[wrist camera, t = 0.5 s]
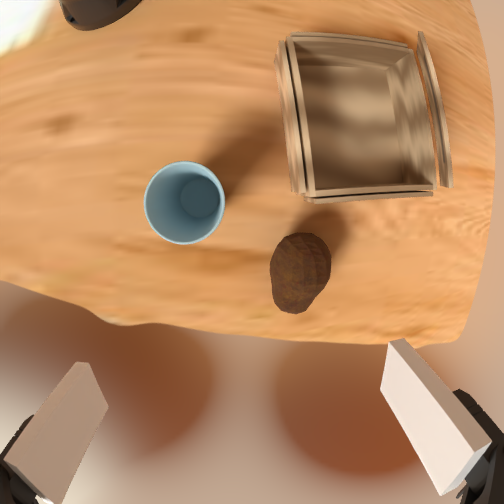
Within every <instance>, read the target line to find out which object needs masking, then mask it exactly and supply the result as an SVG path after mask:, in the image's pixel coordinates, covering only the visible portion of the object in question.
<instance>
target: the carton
mask: <svg viewBox="0 0 504 504" xmlns="http://www.w3.org/2000/svg"><path fill="white" fill-rule="evenodd" d="M407 47H408V46H407V44H405V43H400V42H395V41H390V40H384V39H378V38H371V37H364V36H356V35H347V34H335V33H319V32H291V33H290V36H289V37H286V41H285V43H284V41H279V44H278V48H277V52H276V56H275V60H274V64H275V71H276V77H277V83H278V90H279V96H280V103H281V110H282V117H283V125H284V132H285V140H286V148H287V156H288V165H289V173H290V182H291V192H296V195H301V196H306V197H304V201H307V202H310V203H314V204H324V203H335V202H347V201H360V200H374V199H389V198H406V197H425V196H433V192H429V191H417V190H437V181H436V168H435V158H434V149H433V141H432V134H431V127H430V121H429V116H428V110H427V105H426V100H425V95H424V91H423V86H422V82H421V78H420V74H419V70H418V66H417V63H416V59H415V56H414V53H413V49H408V48H407Z"/></svg>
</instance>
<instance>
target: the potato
mask: <svg viewBox="0 0 504 504" xmlns="http://www.w3.org/2000/svg"><path fill="white" fill-rule="evenodd" d="M330 272H331V254H330V252H329V249H328V247H327V246H326V244H325V243H324V242H323V240H321V239H320V238H318V237H317V236H315V235H314V234H312V233H295V234H292V235H289V236H286V237H284V238H283V239H282V241H281V242H280V243H279V244H278V245H277V247H276V249H275V252H274V254H273V256H272V259H271V262H270V275H271V282H272V294H273V299H274V302H275V304H276V305H277V306H278V308H279V309H280V310H281V311H284V312H287V313H292V314H298V313H301V312H304V311H306V310H307V308H308V307H309V306H310V305H311V303H312V302H313V300H314V299H315V297H316V296H317V295H318V294H319V293H320V292H321V291H322V290H323V289H324V287H325V286H326V284H327V282H328V280H329V278H330Z"/></svg>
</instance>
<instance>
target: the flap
mask: <svg viewBox="0 0 504 504" xmlns="http://www.w3.org/2000/svg"><path fill="white" fill-rule="evenodd" d="M417 55H418V58H419V62H420V65H421V69H422V73H423V77H424V81H425V85H426V89H427V94H428V98H429V103H430V108H431V113H432V119H433V125H434V131H435V138H436V146H437V154H438V164H439V176H440V186H444V187H448V188H453V173H452V161H451V152H450V144H449V136H448V130H447V123H446V118H445V112H444V107H443V102H442V97H441V93H440V88H439V84H438V80H437V76H436V73H435V69H434V65H433V62H432V59H431V55H430V52H429V49H428V46H427V43H426V40H425V37H424V34H423V31H418V42H417Z"/></svg>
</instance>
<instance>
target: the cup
mask: <svg viewBox="0 0 504 504" xmlns="http://www.w3.org/2000/svg"><path fill="white" fill-rule="evenodd" d="M144 210H145V214H146V217H147V220H148V222H149V224H150V226H151V227H152V228H153V230H154V231H155V232H156V233H157V234H158V235H159V236H161V237H162V238H164V239H165V240H167V241H170V242H172V243H176V244H192V243H196V242H199V241H201V240H203V239H205V238H206V237H208V236H209V235H210V234H212V233H213V232H214V231H215V229H216V228H217V227H218V225H219V224H220V222H221V220H222V217H223V214H224V210H225V195H224V190H223V187H222V185H221V183H220V181H219V179H218V178H217V177H216V175H215V174H214V173H213V172H212V171H211V170H209V169H208V168H207V167H205V166H203V165H201V164H199V163H196V162H191V161H178V162H174V163H171V164H168V165H166V166H165V167H163V168H162V169H160V170H159V171H158V172H157V173H156V174H155V175H154V176H153V177H152V179H151V180H150V182H149V184H148V186H147V188H146V192H145V196H144Z"/></svg>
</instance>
